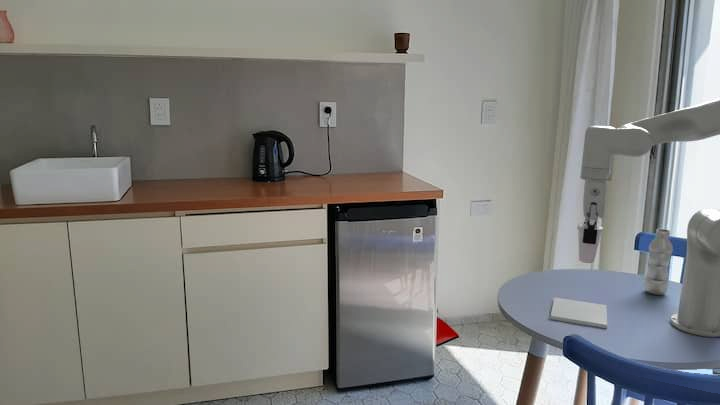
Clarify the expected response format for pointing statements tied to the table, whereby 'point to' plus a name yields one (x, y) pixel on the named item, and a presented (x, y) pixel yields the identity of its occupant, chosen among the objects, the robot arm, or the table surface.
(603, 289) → the table surface
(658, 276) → the plastic bottle
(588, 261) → the smoothie
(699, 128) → the robot arm
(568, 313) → the tile
